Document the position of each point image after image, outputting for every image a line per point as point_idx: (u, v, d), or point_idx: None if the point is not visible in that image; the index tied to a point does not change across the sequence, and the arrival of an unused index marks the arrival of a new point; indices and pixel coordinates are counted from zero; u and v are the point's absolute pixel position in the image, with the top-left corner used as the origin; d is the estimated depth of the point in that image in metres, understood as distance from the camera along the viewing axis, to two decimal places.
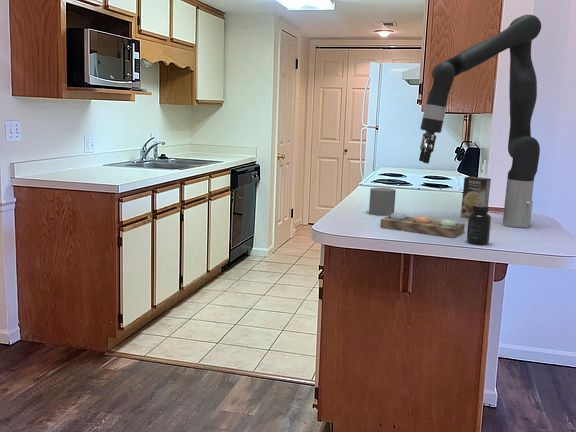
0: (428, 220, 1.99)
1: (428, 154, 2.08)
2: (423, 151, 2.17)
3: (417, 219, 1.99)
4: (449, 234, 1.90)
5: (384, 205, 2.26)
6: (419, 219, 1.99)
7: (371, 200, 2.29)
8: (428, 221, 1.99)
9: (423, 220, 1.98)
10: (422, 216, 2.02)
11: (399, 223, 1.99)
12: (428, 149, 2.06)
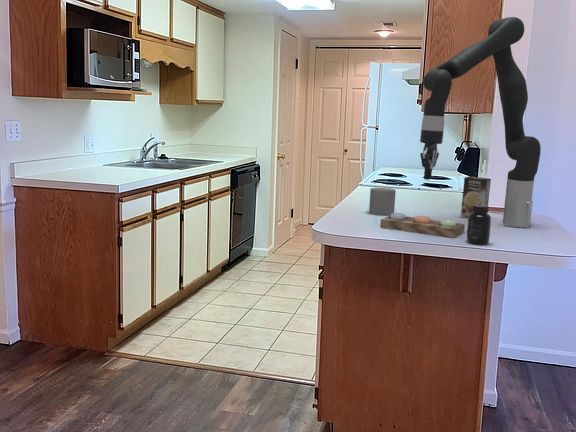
0: (428, 220, 1.99)
1: (427, 170, 2.00)
2: None
3: (417, 219, 1.99)
4: (449, 234, 1.90)
5: (384, 205, 2.26)
6: (419, 219, 1.99)
7: (371, 200, 2.29)
8: (428, 221, 1.99)
9: (423, 220, 1.98)
10: (422, 216, 2.02)
11: (399, 223, 1.99)
12: (424, 165, 1.99)
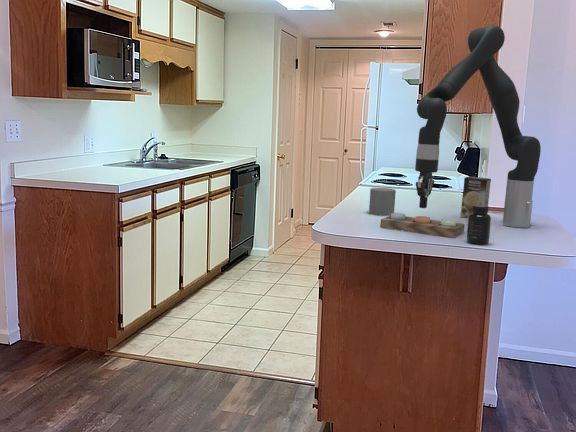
0: (428, 220, 1.99)
1: (422, 199, 1.98)
2: None
3: (417, 219, 1.99)
4: (449, 234, 1.90)
5: (384, 205, 2.26)
6: (419, 219, 1.99)
7: (371, 200, 2.29)
8: (428, 221, 1.99)
9: (423, 220, 1.98)
10: (422, 216, 2.02)
11: (399, 223, 1.99)
12: (419, 194, 1.97)
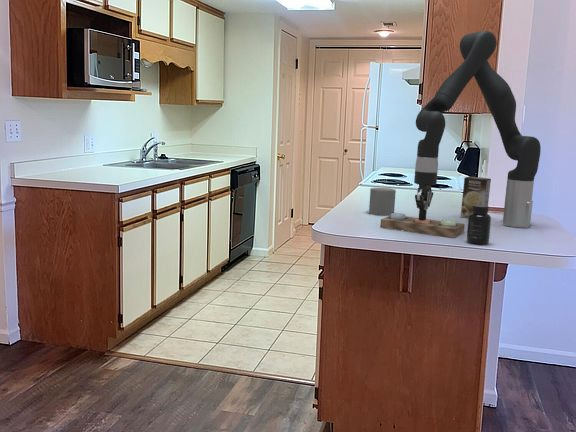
0: None
1: (422, 211, 1.99)
2: None
3: None
4: (449, 234, 1.90)
5: (384, 205, 2.26)
6: (419, 222, 1.99)
7: (371, 200, 2.29)
8: None
9: None
10: None
11: (399, 223, 1.99)
12: (418, 206, 1.97)
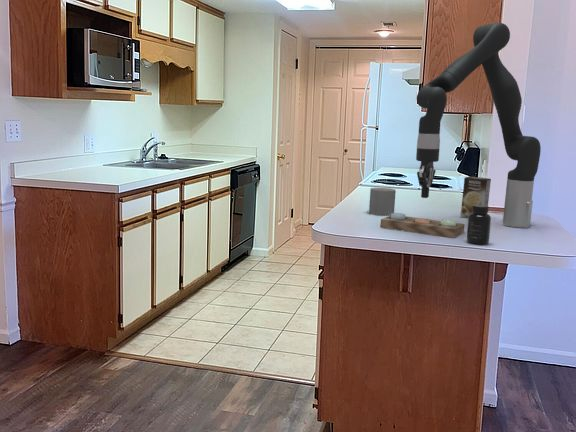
0: None
1: (424, 188, 1.98)
2: None
3: None
4: (449, 234, 1.90)
5: (384, 205, 2.26)
6: (419, 222, 1.99)
7: (371, 200, 2.29)
8: None
9: None
10: (422, 219, 2.02)
11: (399, 223, 1.99)
12: (421, 183, 1.96)
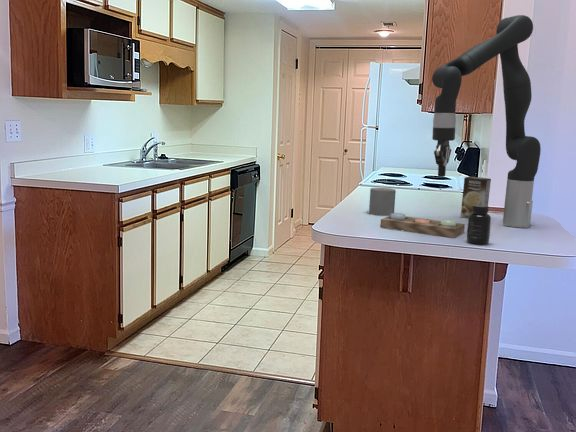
0: None
1: (441, 167, 2.01)
2: None
3: None
4: (449, 234, 1.90)
5: (384, 205, 2.26)
6: (419, 222, 1.99)
7: (371, 200, 2.29)
8: None
9: None
10: (422, 219, 2.02)
11: (399, 223, 1.99)
12: (438, 162, 1.99)
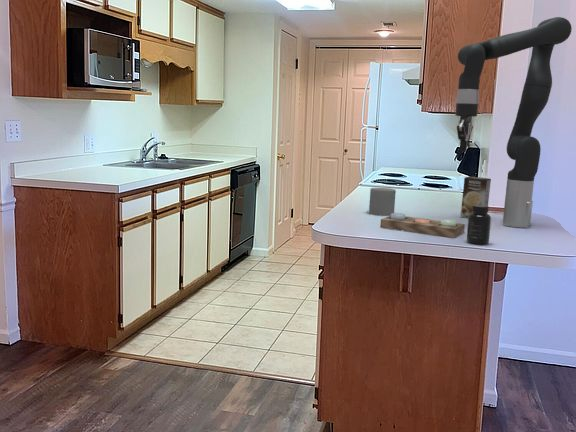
0: None
1: (463, 142, 2.06)
2: None
3: None
4: (449, 234, 1.90)
5: (384, 205, 2.26)
6: (419, 222, 1.99)
7: (371, 200, 2.29)
8: None
9: None
10: (422, 219, 2.02)
11: (399, 223, 1.99)
12: (460, 137, 2.05)
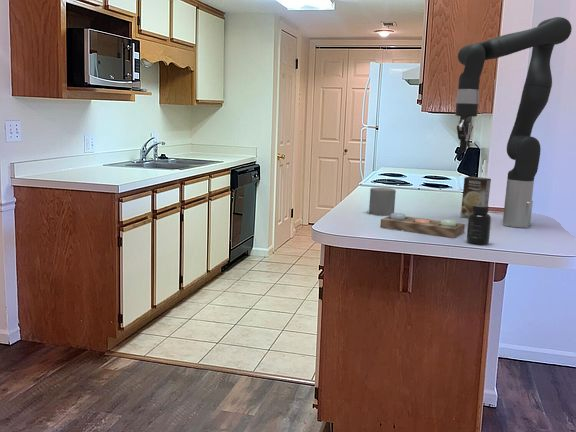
0: None
1: (463, 142, 2.06)
2: None
3: None
4: (449, 234, 1.90)
5: (384, 205, 2.26)
6: (419, 222, 1.99)
7: (371, 200, 2.29)
8: None
9: None
10: (422, 219, 2.02)
11: (399, 223, 1.99)
12: (460, 137, 2.05)
